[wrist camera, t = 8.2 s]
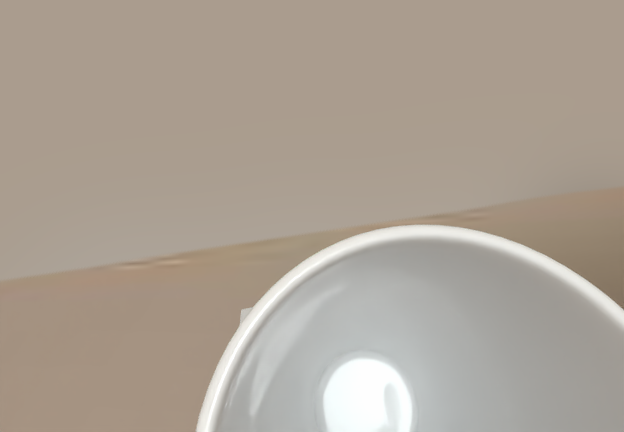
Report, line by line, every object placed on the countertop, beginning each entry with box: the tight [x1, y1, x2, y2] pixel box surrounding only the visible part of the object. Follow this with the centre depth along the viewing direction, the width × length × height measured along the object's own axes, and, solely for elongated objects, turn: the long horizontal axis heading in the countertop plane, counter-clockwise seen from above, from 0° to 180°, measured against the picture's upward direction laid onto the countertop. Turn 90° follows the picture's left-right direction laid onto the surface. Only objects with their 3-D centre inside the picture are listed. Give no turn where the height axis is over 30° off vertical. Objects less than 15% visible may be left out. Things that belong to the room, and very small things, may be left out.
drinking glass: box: [195, 225, 624, 432], centre depth 11 cm, size 7×7×15 cm
